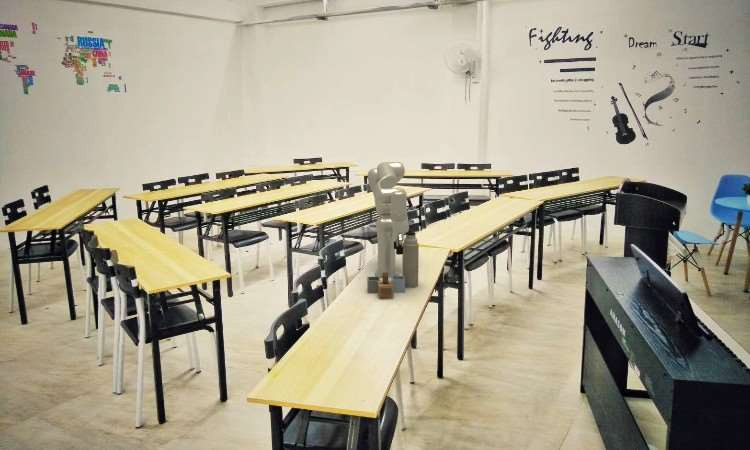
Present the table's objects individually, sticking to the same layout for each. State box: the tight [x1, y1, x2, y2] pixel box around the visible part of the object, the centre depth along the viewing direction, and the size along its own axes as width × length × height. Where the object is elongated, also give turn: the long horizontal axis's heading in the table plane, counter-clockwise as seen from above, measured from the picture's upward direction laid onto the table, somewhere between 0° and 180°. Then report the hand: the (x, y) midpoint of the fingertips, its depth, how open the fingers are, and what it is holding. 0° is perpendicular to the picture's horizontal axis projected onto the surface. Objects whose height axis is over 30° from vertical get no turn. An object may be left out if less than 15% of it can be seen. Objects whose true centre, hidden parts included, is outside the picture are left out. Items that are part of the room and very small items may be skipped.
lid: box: [377, 272, 394, 288], centre depth 255 cm, size 7×7×6 cm
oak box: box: [377, 288, 394, 300], centre depth 256 cm, size 6×6×6 cm
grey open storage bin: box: [366, 275, 381, 294], centre depth 263 cm, size 6×6×7 cm
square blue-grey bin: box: [390, 275, 406, 294], centre depth 264 cm, size 6×6×7 cm
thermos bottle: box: [401, 231, 420, 289], centre depth 269 cm, size 8×8×28 cm
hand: (398, 251), depth 260 cm, fingers open, 9 cm apart
